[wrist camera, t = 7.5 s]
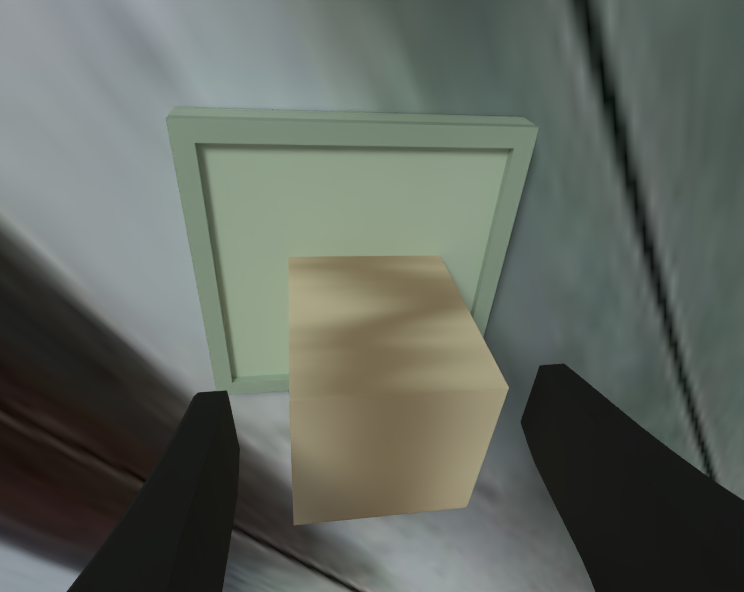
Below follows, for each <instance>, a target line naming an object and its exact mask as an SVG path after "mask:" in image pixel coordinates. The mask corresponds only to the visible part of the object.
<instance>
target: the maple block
mask: <svg viewBox="0 0 744 592" xmlns="http://www.w3.org/2000/svg"><path fill="white" fill-rule="evenodd" d="M288 285H289V408H290V435H291V462H292V488H293V515H294V525H301V524H311V523H320V522H330V521H340V520H349V519H359V518H369V517H378V516H388V515H398V514H407V513H417V512H427V511H437V510H446V509H456V508H466V507H467V506H468V503H469V500H470V497H471V494H472V491H473V488H474V486H475V483H476V480H477V477H478V474H479V471H480V469H481V466H482V463H483V460H484V457H485V454H486V452H487V449H488V446H489V443H490V440H491V437H492V435H493V432H494V429H495V426H496V423H497V420H498V418H499V415H500V412H501V409H502V406H503V403H504V401H505V398H506V395H507V392H508V389H509V387H508V385H507V383H506V381H505V379H504V377H503V375H502V374H501V372H500V370H499V368H498V366H497V364H496V362H495V360H494V358H493V356H492V354H491V352H490V350H489V349H488V347H487V345H486V343H485V341H484V339H483V337H482V335H481V333H480V331H479V329H478V327H477V325H476V324H475V322H474V320H473V318H472V316H471V314H470V312H469V310H468V308H467V306H466V304H465V302H464V300H463V299H462V297H461V295H460V293H459V291H458V289H457V287H456V285H455V283H454V281H453V279H452V277H451V275H450V273H449V272H448V270H447V268H446V266H445V264H444V262H443V260H442V258H441V256H440V255H432V256H323V257H288Z"/></svg>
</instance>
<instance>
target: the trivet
mask: <svg viewBox="0 0 744 592" xmlns="http://www.w3.org/2000/svg"><path fill="white" fill-rule="evenodd" d="M166 122H167V128H168V133H169V139H170V144H171V149H172V155H173V160H174V165H175V171H176V176H177V182H178V187H179V192H180V198H181V203H182V208H183V214H184V219H185V224H186V230H187V235H188V241H189V246H190V251H191V257H192V262H193V267H194V273H195V278H196V283H197V289H198V294H199V300H200V305H201V310H202V316H203V321H204V326H205V332H206V337H207V343H208V348H209V353H210V359H211V364H212V369H213V375H214V380H215V385H216V391H224V390H227V392H228V395H230V394H246V393H261V392H276V391H289V285H288V257H323V256H432V255H440V256H441V258H442V260H443V262H444V264H445V266H446V268H447V270H448V272H449V273H450V275H451V277H452V279H453V281H454V283H455V285H456V287H457V289H458V291H459V293H460V295H461V297H462V299H463V300H464V302H465V304H466V306H467V308H468V310H469V312H470V314H471V316H472V318H473V320H474V322H475V324H476V325H477V327H478V329H479V331H480V333H481V335H482V337H484V333H485V329H486V326H487V322H488V318H489V314H490V311H491V307H492V303H493V299H494V296H495V292H496V288H497V284H498V281H499V277H500V273H501V269H502V265H503V262H504V258H505V254H506V250H507V247H508V243H509V239H510V235H511V232H512V228H513V224H514V220H515V216H516V213H517V209H518V205H519V201H520V198H521V194H522V190H523V186H524V183H525V179H526V175H527V171H528V168H529V164H530V160H531V156H532V152H533V149H534V145H535V141H536V137H537V134H538V130H539V127H537V126H536V125H534V124H533V123H531V122H530V121H528V120H527V119H525V118H524V117H504V116H469V115H433V114H398V113H362V112H327V111H292V110H256V109H221V108H185V107H174V108H173V110H172V111H171V112H170V113H169V115H168V116H167V117H166Z"/></svg>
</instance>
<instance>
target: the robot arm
mask: <svg viewBox="0 0 744 592" xmlns="http://www.w3.org/2000/svg"><path fill="white" fill-rule="evenodd" d="M521 425H522V428H523V431H524V434H525V437H526V440H527V443H528V446H529V449H530V451H531V454H532V457H533V460H534V462H535V464H536V467H537V469H538V471H539V473H540V475H541V477H542V479H543V481H544V483H545V485H546V487H547V489H548V491H549V494H550V496H551V498H552V500H553V502H554V504H555V506H556V508H557V510H558V512H559V514H560V516H561V518H562V520H563V522H564V524H565V526H566V528H567V530H568V532H569V534H570V536H571V538H572V540H573V542H574V544H575V546H576V548H577V550H578V552H579V554H580V556H581V559H582V561H583V563H584V565H585V567H586V570H587V572H588V574H589V577H590V579H591V582H592V584H593V587H594V589H595V592H744V500H742V499H741V498H739V497H738V496H736V495H735V494H733V493H731V492H730V491H728V490H727V489H725V488H724V487H722V486H721V485H719V484H718V483H716V482H715V481H714V480H712V479H711V478H709V477H708V476H706V475H705V474H703V473H702V472H701V471H699V470H698V469H696V468H695V467H694V466H692V465H691V464H690V463H688V462H687V461H686V460H684V459H683V458H681V457H680V456H679V455H677V454H676V453H675V452H673V451H672V450H671V449H669V448H668V447H667V446H665V445H664V444H663V443H661V442H660V441H659V440H658V439H656V438H655V437H654V436H652V435H651V434H650V433H649V432H647V431H646V430H645V429H643V428H642V427H641V426H640V425H638V424H637V423H636V422H635V421H633V420H632V419H631V418H630V417H629V416H627V415H626V414H625V413H624V412H622V411H621V410H620V409H619V408H618V407H616V406H615V405H614V404H613V403H611V402H610V401H609V400H608V399H607V398H605V397H604V396H603V395H602V394H601V393H599V392H598V391H597V390H596V389H595V388H593V387H592V386H591V385H590V384H589V383H587V382H586V381H585V380H584V379H583V378H581V377H580V376H579V375H578V374H576V373H575V372H574V371H573V370H571V369H570V368H569V367H568V366H566V365H565V364H553V365H540V367H539V369H538V372H537V375H536V378H535V381H534V384H533V387H532V390H531V393H530V396H529V399H528V402H527V405H526V408H525V410H524V413H523V416H522V419H521ZM239 454H240V448H239V443H238V439H237V434H236V429H235V424H234V420H233V415H232V410H231V406H230V401H229V396H228V392H227V390H224V391H212V392H199V393H197V394H196V395H195V396H194V397H193V399H192V401H191V403H190V405H189V407H188V409H187V411H186V413H185V415H184V417H183V419H182V421H181V422H180V424H179V426H178V428H177V430H176V432H175V433H174V435H173V437H172V439H171V440H170V442H169V444H168V446H167V447H166V449H165V451H164V452H163V454H162V456H161V457H160V459H159V461H158V462H157V464H156V465H155V467H154V469H153V470H152V472H151V474H150V475H149V477H148V478H147V480H146V482H145V483H144V485H143V486H142V488H141V490H140V491H139V493H138V494H137V496H136V497H135V499H134V500H133V502H132V503H131V504H130V506H129V507H128V509H127V510H126V512H125V513H124V515H123V516H122V518H121V519H120V521H119V522H118V524H117V525H116V526H115V528H114V529H113V531H112V532H111V534H110V535H109V536H108V538H107V539H106V541H105V542H104V543H103V545H102V546H101V547H100V549H99V550H98V552H97V553H96V554H95V556H94V557H93V558H92V560H91V561H90V562H89V564H88V565H87V566H86V568H85V569H84V570H83V571H82V573H81V574H80V575H79V577H78V578H77V579H76V580H75V582H74V583H73V584H72V585H71V587H70V588H69V589H68V591H67V592H222V589H223V583H224V576H225V570H226V564H227V558H228V552H229V545H230V539H231V533H232V526H233V520H234V514H235V507H236V501H237V493H238V475H239Z"/></svg>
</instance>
